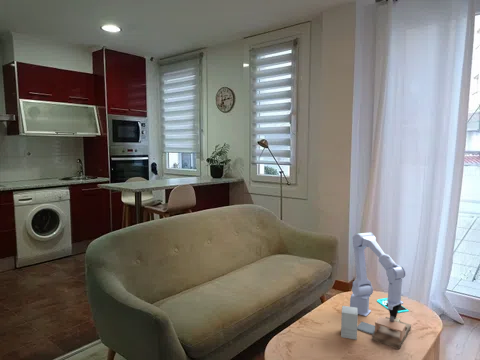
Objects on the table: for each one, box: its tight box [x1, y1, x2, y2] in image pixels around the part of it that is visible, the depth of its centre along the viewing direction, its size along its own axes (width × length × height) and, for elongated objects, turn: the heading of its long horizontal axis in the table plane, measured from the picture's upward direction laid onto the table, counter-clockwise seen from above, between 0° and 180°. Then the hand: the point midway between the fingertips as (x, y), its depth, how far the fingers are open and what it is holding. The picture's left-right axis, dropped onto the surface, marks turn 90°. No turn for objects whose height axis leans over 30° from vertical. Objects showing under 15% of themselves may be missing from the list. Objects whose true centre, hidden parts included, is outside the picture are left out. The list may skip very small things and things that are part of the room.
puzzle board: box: [371, 316, 412, 350], centre depth 164 cm, size 12×22×2 cm, turn 141°
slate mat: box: [357, 321, 375, 336], centre depth 169 cm, size 8×8×1 cm
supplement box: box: [340, 305, 359, 341], centre depth 162 cm, size 7×7×13 cm
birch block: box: [389, 316, 401, 323], centre depth 167 cm, size 4×4×6 cm
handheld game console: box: [376, 297, 409, 314], centre depth 192 cm, size 10×16×1 cm, turn 15°
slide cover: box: [374, 315, 406, 341], centre depth 160 cm, size 12×7×7 cm, turn 51°
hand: (393, 318), depth 163 cm, fingers closed
